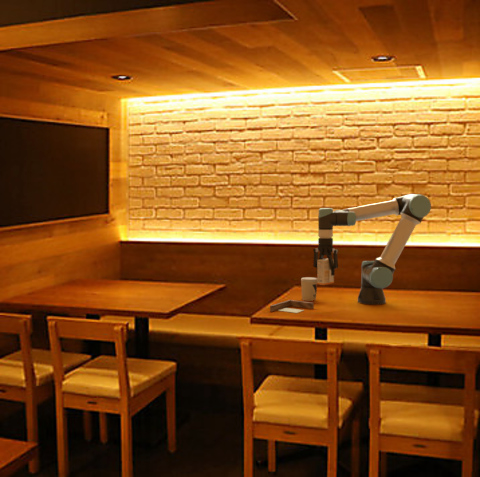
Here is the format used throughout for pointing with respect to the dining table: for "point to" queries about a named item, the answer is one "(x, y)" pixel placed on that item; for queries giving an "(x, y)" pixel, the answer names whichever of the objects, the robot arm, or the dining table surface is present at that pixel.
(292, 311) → the pad
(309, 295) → the coffee cup
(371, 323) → the dining table surface
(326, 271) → the supplement box
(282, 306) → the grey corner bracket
